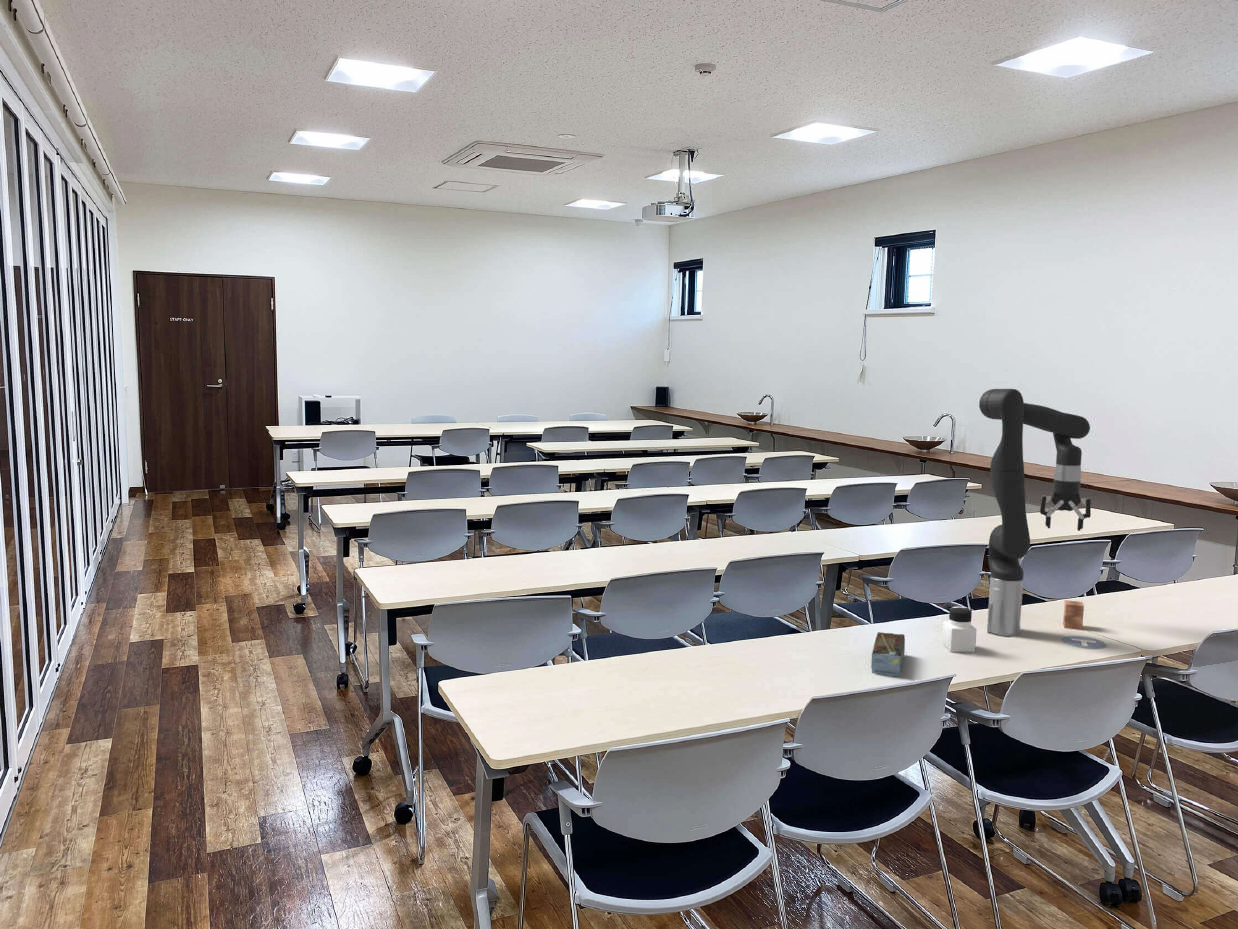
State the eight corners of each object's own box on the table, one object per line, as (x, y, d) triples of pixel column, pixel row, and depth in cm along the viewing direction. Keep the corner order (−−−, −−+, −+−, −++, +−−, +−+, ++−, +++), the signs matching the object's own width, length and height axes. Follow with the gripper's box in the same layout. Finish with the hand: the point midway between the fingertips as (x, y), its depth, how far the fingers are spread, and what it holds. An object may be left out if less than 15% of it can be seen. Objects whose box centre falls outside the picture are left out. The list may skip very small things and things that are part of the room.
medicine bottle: (975, 652, 251) (977, 612, 249) (950, 652, 251) (952, 612, 250) (966, 644, 258) (968, 605, 257) (941, 644, 258) (944, 604, 257)
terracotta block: (1064, 629, 273) (1065, 604, 272) (1063, 624, 278) (1064, 600, 277) (1082, 631, 271) (1083, 606, 270) (1080, 626, 276) (1082, 602, 275)
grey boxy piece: (869, 674, 234) (870, 650, 233) (875, 652, 252) (876, 629, 251) (900, 678, 231) (902, 654, 231) (904, 655, 249) (905, 633, 248)
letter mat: (1062, 646, 257) (1062, 645, 257) (1060, 634, 268) (1060, 633, 268) (1109, 652, 252) (1109, 651, 252) (1104, 640, 263) (1104, 639, 263)
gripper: (1042, 479, 275) (1039, 529, 277) (1093, 481, 270) (1090, 533, 272) (1041, 476, 282) (1038, 525, 284) (1091, 478, 276) (1088, 529, 278)
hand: (1063, 529), depth 278 cm, fingers open, 8 cm apart
